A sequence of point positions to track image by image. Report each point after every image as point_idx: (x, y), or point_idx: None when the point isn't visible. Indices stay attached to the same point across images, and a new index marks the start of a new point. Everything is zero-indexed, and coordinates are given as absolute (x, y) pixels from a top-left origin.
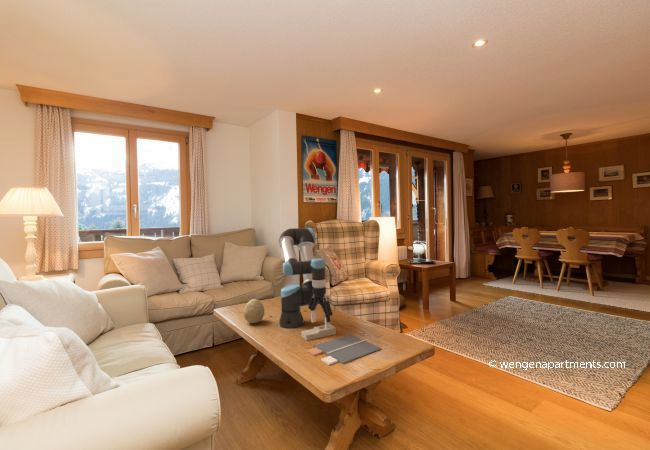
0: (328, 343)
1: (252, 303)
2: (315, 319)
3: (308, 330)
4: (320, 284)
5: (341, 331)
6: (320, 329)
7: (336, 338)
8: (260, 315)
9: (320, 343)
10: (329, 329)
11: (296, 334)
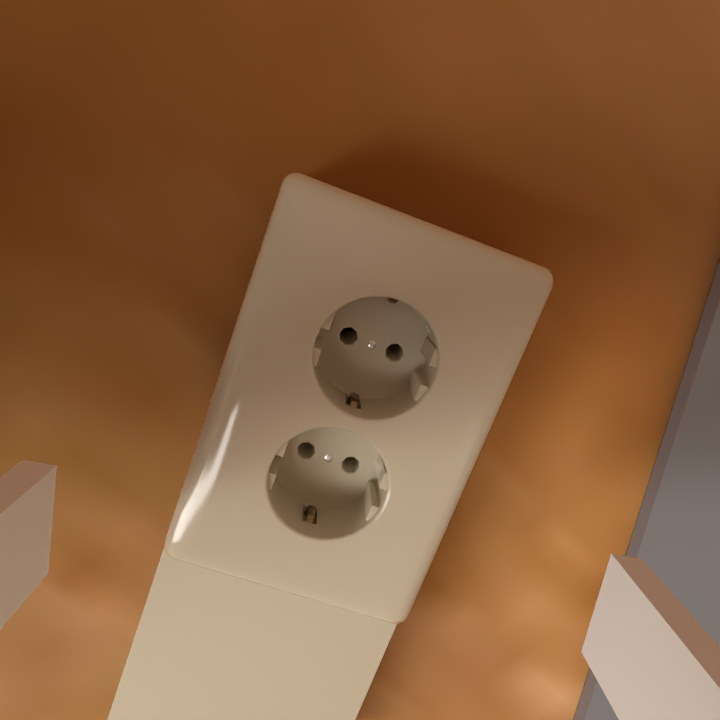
0: None
1: None
2: (27, 509)
3: (169, 653)
4: None
5: (519, 98)
6: (373, 560)
7: (681, 448)
8: None
9: (592, 713)
10: (493, 421)
11: (15, 689)
